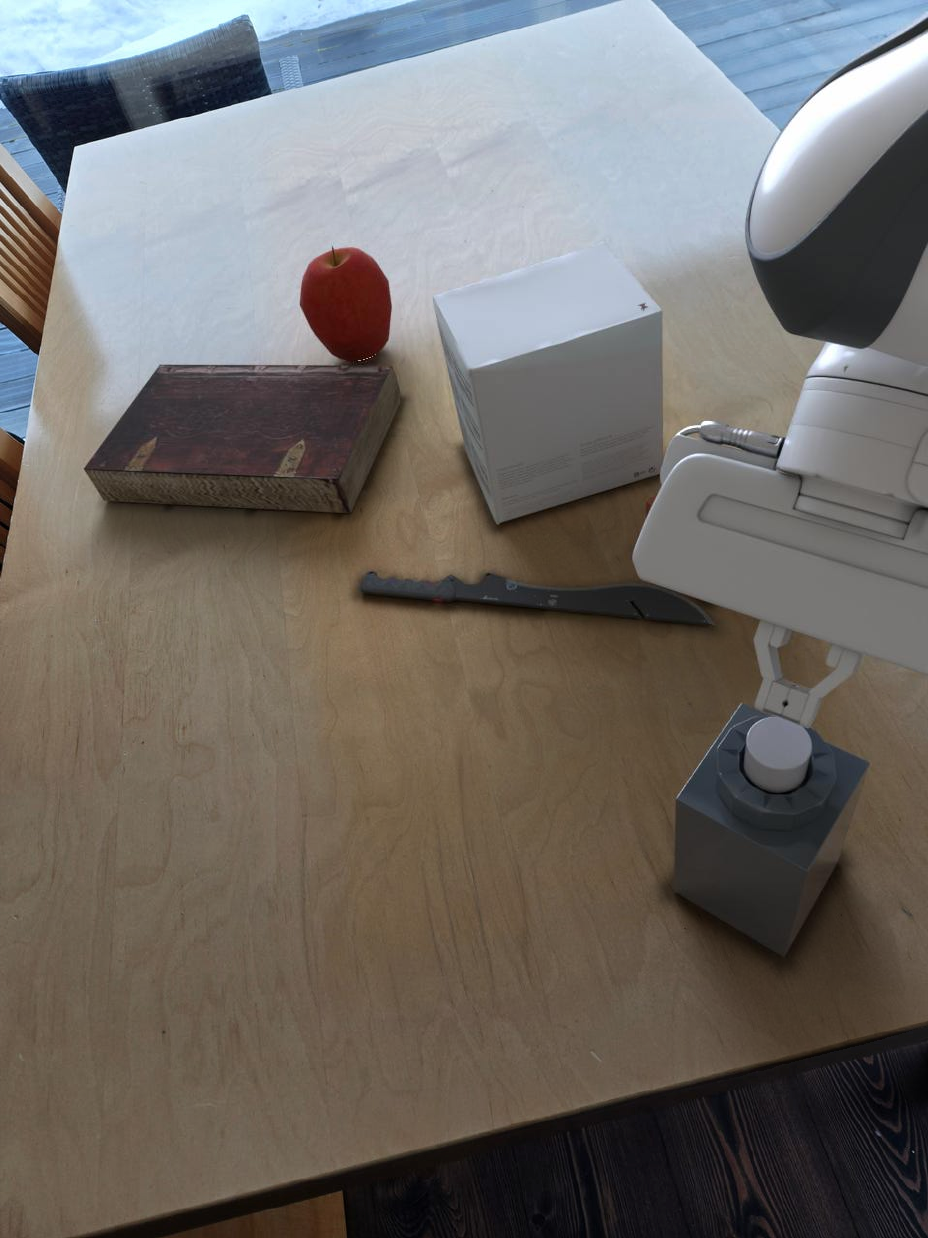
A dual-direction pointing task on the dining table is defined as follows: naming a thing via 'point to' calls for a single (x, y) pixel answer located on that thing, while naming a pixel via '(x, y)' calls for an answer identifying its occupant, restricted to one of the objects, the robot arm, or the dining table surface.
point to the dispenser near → (762, 835)
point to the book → (249, 436)
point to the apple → (347, 303)
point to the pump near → (777, 754)
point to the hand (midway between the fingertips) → (782, 717)
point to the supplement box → (555, 380)
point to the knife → (548, 597)
